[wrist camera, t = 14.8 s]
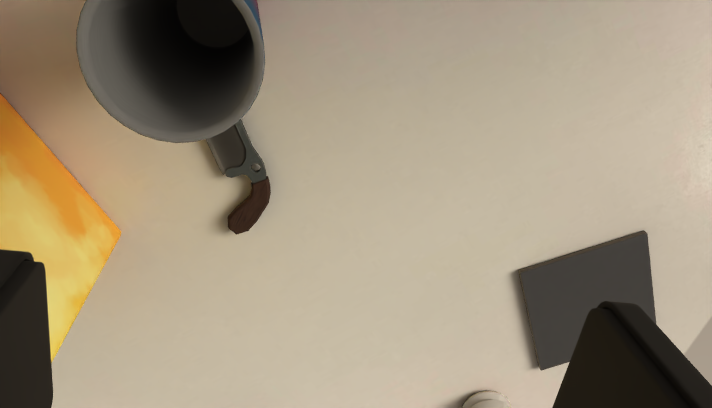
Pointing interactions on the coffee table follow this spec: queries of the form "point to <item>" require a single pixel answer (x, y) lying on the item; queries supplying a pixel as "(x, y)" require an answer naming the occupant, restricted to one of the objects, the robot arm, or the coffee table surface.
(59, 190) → the mottled yellow carton
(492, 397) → the rook chess piece
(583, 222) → the coffee table surface
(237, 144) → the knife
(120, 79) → the cup
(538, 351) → the coaster
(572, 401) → the robot arm
